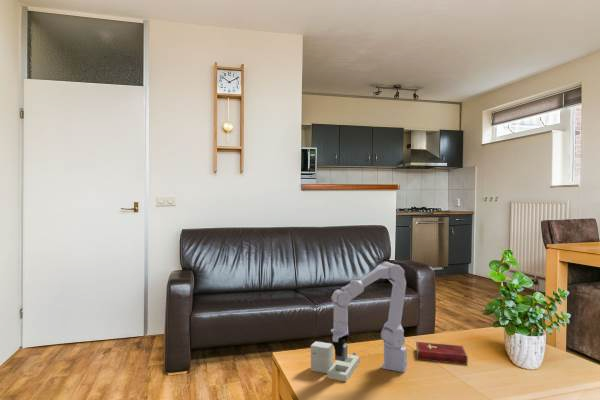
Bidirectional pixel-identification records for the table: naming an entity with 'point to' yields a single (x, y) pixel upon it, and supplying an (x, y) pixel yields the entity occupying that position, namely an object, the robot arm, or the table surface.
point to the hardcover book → (441, 352)
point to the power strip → (343, 368)
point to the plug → (344, 354)
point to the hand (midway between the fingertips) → (340, 353)
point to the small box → (321, 356)
